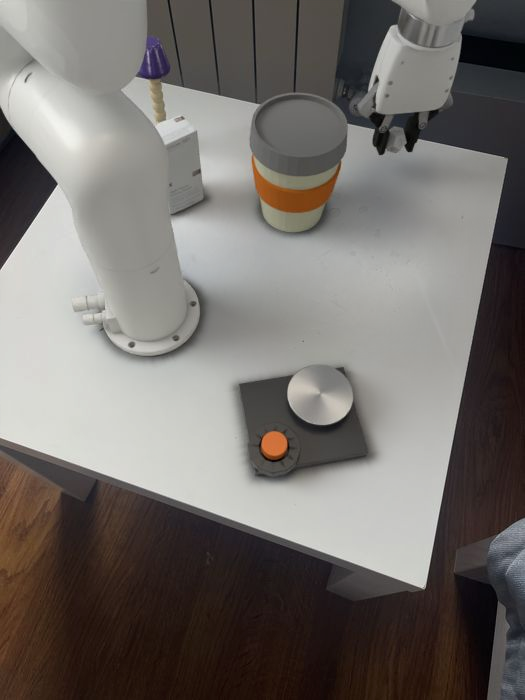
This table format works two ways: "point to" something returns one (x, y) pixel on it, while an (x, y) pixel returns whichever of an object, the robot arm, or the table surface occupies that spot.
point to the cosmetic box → (182, 163)
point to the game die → (396, 139)
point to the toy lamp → (155, 74)
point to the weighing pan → (320, 395)
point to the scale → (294, 430)
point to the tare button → (274, 445)
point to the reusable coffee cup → (296, 157)
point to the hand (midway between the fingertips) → (392, 146)
